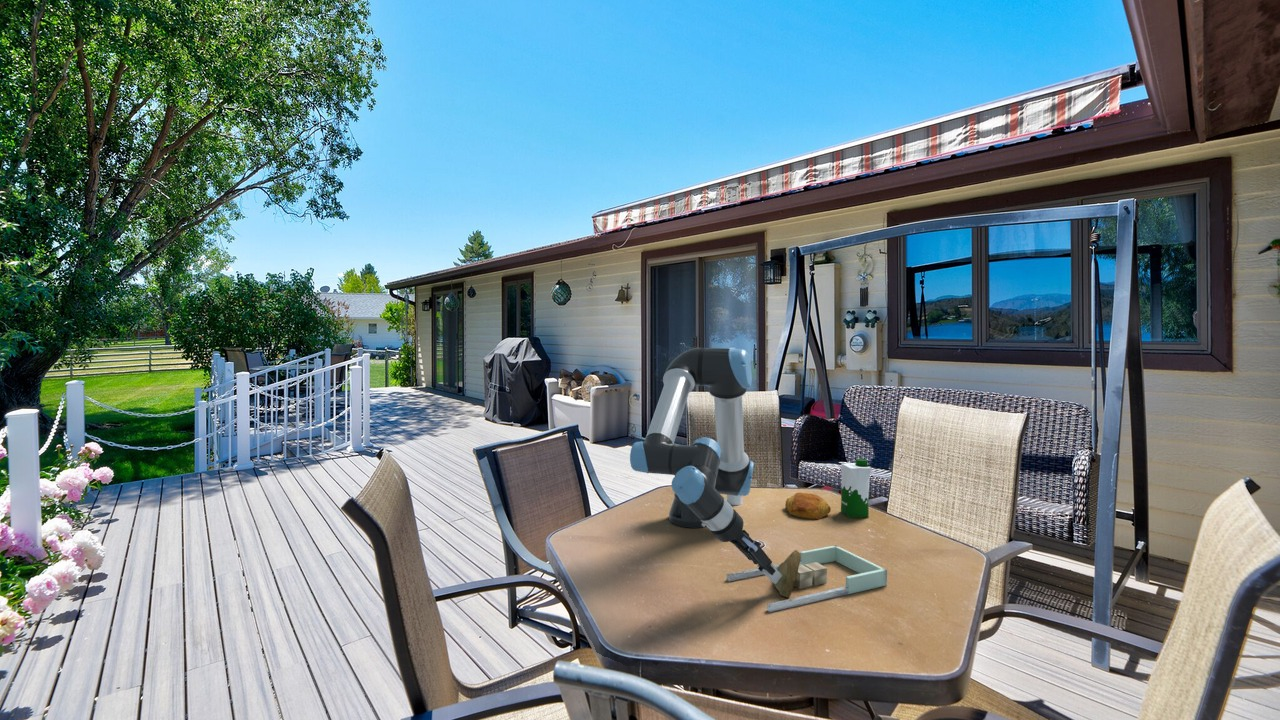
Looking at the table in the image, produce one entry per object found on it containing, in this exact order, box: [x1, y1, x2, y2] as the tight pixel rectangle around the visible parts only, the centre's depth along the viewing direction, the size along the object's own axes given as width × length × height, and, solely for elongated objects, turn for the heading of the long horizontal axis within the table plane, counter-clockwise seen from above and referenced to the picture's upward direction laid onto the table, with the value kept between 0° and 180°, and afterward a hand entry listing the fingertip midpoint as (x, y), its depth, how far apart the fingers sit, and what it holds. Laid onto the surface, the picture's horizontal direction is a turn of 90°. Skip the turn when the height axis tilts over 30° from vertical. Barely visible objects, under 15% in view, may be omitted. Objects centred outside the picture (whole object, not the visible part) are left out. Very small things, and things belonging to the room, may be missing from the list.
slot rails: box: [726, 561, 849, 613], centre depth 138 cm, size 24×18×2 cm
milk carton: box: [840, 458, 872, 519], centre depth 197 cm, size 9×9×20 cm
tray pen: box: [799, 545, 888, 595], centre depth 146 cm, size 13×18×4 cm
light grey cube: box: [794, 565, 813, 590], centre depth 140 cm, size 4×4×4 cm
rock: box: [773, 549, 801, 599], centre depth 137 cm, size 10×8×10 cm
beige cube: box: [804, 562, 828, 586], centre depth 142 cm, size 4×4×4 cm
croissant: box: [784, 492, 831, 520], centre depth 198 cm, size 15×16×8 cm
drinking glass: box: [726, 495, 743, 506], centre depth 209 cm, size 7×7×10 cm
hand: (777, 578), depth 135 cm, fingers closed
